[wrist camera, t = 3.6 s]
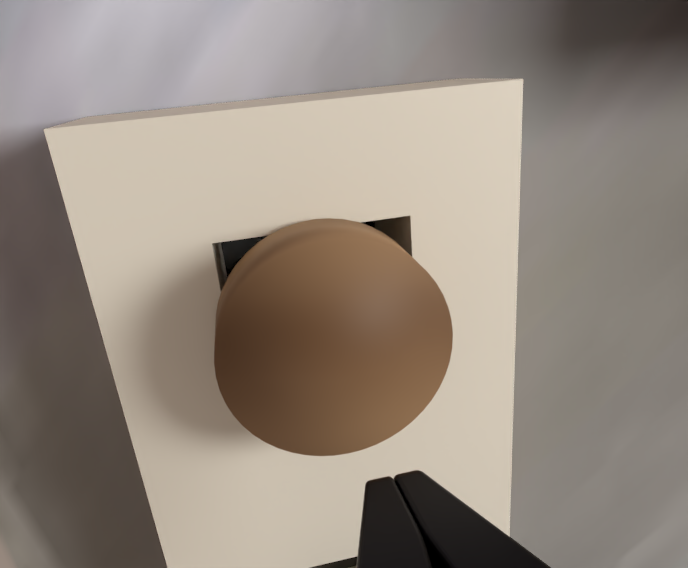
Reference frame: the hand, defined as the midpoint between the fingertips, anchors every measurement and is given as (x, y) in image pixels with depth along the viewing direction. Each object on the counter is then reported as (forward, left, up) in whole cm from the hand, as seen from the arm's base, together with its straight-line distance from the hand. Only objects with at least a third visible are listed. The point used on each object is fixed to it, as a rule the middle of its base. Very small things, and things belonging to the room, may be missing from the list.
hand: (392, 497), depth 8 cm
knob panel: (-6, 0, -11) cm, 12 cm away
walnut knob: (0, 0, -10) cm, 10 cm away
